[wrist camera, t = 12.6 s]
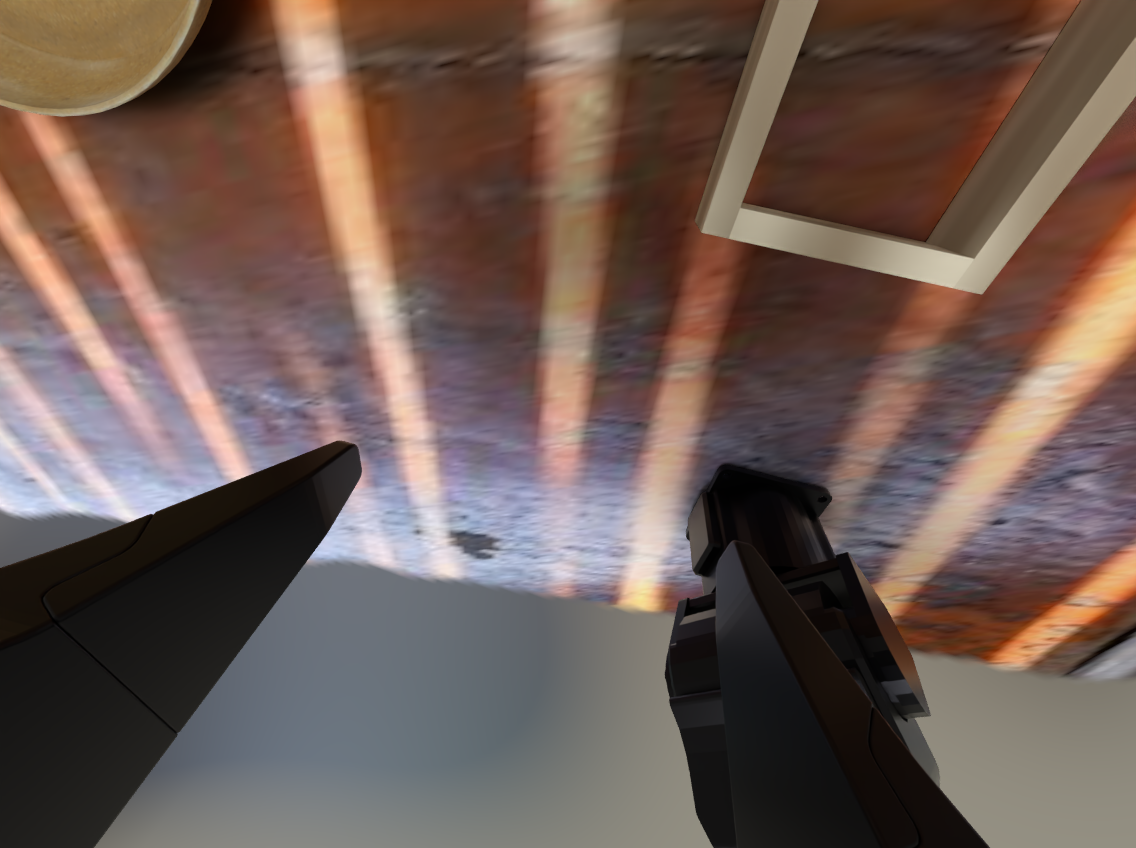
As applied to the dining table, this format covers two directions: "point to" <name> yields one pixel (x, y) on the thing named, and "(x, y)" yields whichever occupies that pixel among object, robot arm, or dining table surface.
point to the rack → (993, 188)
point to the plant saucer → (90, 51)
